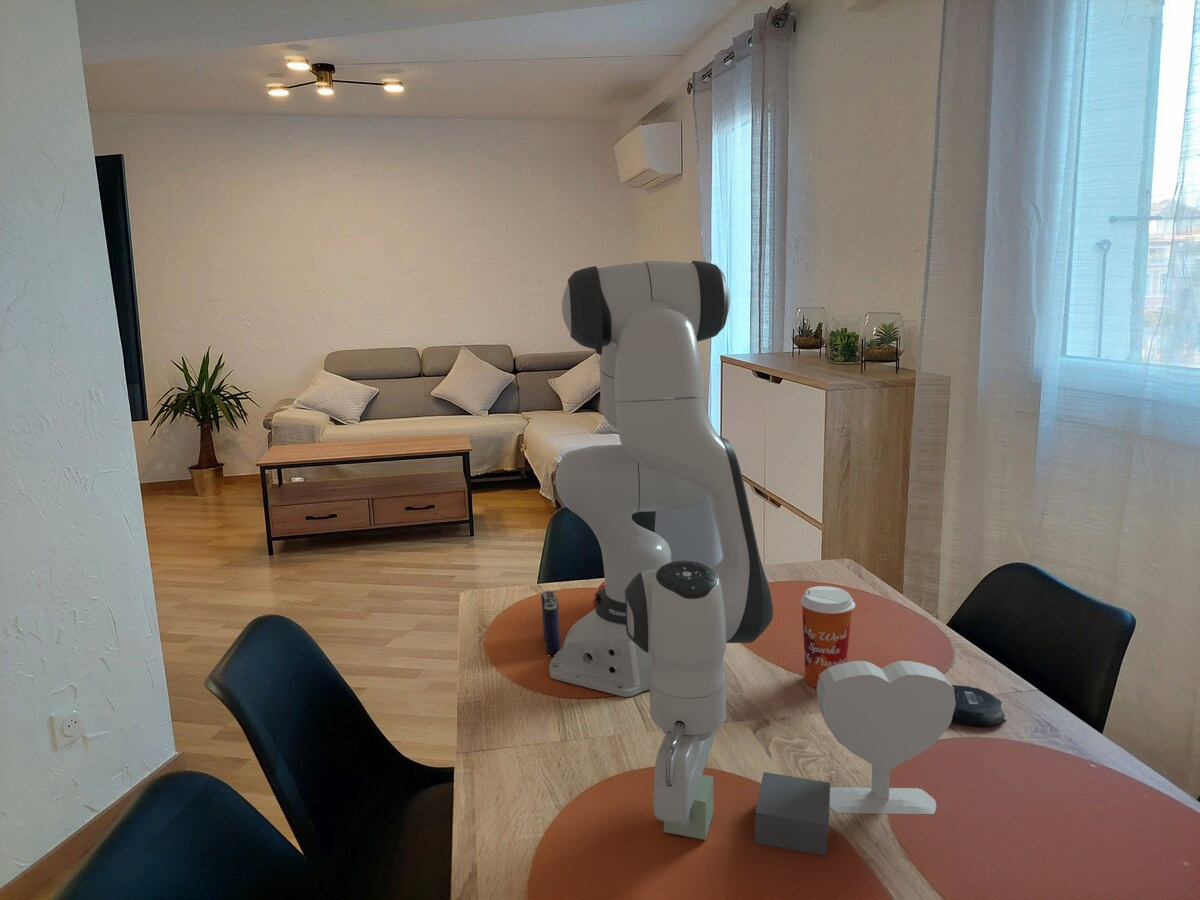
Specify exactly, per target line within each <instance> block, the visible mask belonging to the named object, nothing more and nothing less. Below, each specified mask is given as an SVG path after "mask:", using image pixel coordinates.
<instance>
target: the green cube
mask: <svg viewBox="0 0 1200 900" xmlns="http://www.w3.org/2000/svg"><path fill="white" fill-rule="evenodd" d="M691 808H692V819H691V823H690V826H689V828H681V827H677V826H675V824H674V823H670V822H665V821H663V832H664V833H669V834H673V835H678V836H683V837H689V838H695V839H700V840H703V841H705V840H706V839H707V837H708V836H707V835H708V833H709V829H710V826H711V821H712V818H713V815H714V776H712V775H706V774H703V775H702V777H701V780H700V783H699V786H698V789H697V792H696V795H695V798H694V801H693V804H692V807H691Z"/></svg>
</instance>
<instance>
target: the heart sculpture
mask: <svg viewBox="0 0 1200 900" xmlns="http://www.w3.org/2000/svg"><path fill="white" fill-rule="evenodd" d="M952 685H953V684H951V683H950V681H949V680H948V678H947V677H946V676H945V675H944V673H943V672H941V671H940V670H938V669H937V668H936V667H935V666H931V665H928V664H925V663H921V662H917V661H911V660H896V661H893V662H891V663H889V664H887V665H885V666H883V667H879V666H878V665H876V664H873V663H872V662H869V661H866V660H854V661H853V660H852V661H847V662H846V663H842V664H838V665H835V666H832V667H829V668H827V669H826V670H824V671H823V672H822V673H821V674H819V679H818V684H817V689H816V688H815V689H816V694H817V701H818V708H819V711H820V713H821V716H822V718H823V720H824V724H825V725H826V726H827V728H828V729H829V731H830V733H831V734H832V735H833V737H834V738H835V740H836V741H837V742H838V743H839V744H840V745H842V746H843V747H844V748H845V749H847V750H848V751H850V752H851V753H852V754H853V755H854V756H856V757H859V758H860V759H863V760H864V761H866V762H868V763H869V764H871V766H872V767H871V782H870V783H871V784H870V785H871V787H830V809H832V811H834V812H835V813H836V814H882V815H884V814H888V815H889V814H892V815H894V814H895V815H897V814H898V815H905V814H906V815H934V814H935V812H936V810H937V803H936V799H934V797H933V796H931V794H928V792H927V791H925V790H923V789H922V788H921V789H919V788H920V787H914V788H913V787H890V779H891V770H892V769H893V768H895V767H897V766H899V765H901V764H903V763H905V762H907V761H909V760H911V759H913V758H915V757H917V756H918V755H920V754H921V753H923V752H925V751H926V750H927V749H929V748H931V747H932V746H933V745H934V744H936V743H937V742H938V741H939V740H940V738H942V736H943V734H944V733H945V732H946V731H947V729H948V728H949V726H950V725H951V723H952V722H953V721H952V717H953V713H954V709H955V705H956V702H955V693H954V688H953V687H952Z"/></svg>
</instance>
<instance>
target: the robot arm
mask: <svg viewBox="0 0 1200 900" xmlns="http://www.w3.org/2000/svg"><path fill="white" fill-rule="evenodd" d="M730 295H731V294H730V289H729V287H728V283H727V279H726V276H725V274H724V272H723V271H722V270H721V269H720V267H719V266H718V265H717V264H715V263H711V262H707V261H700V260H691V262H686V261H675V260H673V261H671V260H645V261H643V262H632V263H631V262H630V263H622V264H614V265H607V266H602V267H597V266H596V265H594V266H588V267H584V268H581V269H578V270H575V271H574V272H573V273H572V274H571V276H569V278H568V279H567V283H566V286H565V289H564V291H563V294H562V298H561V299H562V301H561V313H562V317H563V318H562V319H563V321H564V324H565V326H566V328H567V331H568V332H569V335H570V338H571V339H572V340H574V341H575V342H576V343H577V344H579V345H580V346H583V347H584V348H585V347H586V348H588V349H591V350H594V351H595V353H596V355H599V388H600V389H599V391H600V392H599V393H600V396H599V397H600V398H599V399H600V402H599V403H600V412H601V414H602V416H603V417H604V419H605V421H606V422H607V423H608V424H609V425H610V426H611V427H613V428H614V429H615V430H617V433H618V437H619V442H620V444H607V445H605V444H604V445H600V444H599V445H592V446H591V445H590V446H587V447H583V448H578V449H574V450H570V451H568V452H567V453H565V454H564V455H563V456H562V458H561V460H560V462H559V463H558V465H557V468H556V471H555V477H554V478H555V480H554V483H555V489H556V492H557V495H558V497H559V499H560V501H561V503H562V504H564V506H565V507H566V508H567V509H568V510H569V511H571V512H573V513H574V514H576V515H577V517H580V518H581V519H582V520H583V521H584V522H585V523H586V524H587V525H588V526H589V527H590V529H591V530H592V532H593V533H594V535H595V538H596V539H597V541H598V544H599V546H600V550H601V555H602V556H601V557H602V563H603V572H604V581H602V583H601V584H600V585H598V590H597V591H596V592H595V594H594V597H593V598H592V601H591V603H592V604H591V607H592V608H594V610H592V611H590V612H589V613H587V614H585V615H584V616H583V617H581V618H580V619H578V621H575V623H574V624H573V625H572V626H571V627H570V628H569V630H568V632H567V633H566V635H565V637H564V641H563V646H561V649H560V650H559V651H558V652H557V653H556V654H555V656H554V657H552V659H551V661H550V664H549V670H548V674H549V676H550V678H551V679H553V680H557V681H560V682H565V683H568V684H572V685H576V686H580V687H584V688H587V689H592V690H596V691H600V692H604V693H608V694H612V695H616V696H619V697H623V698H624V697H625V698H629V697H634V696H635V695H637V694H640V693H642V692H646V691H649V700H650V701H649V704H650V705H649V706H650V708H649V709H650V718H651V720H652V721H653V723H654V724H655V725H656V726H657V727H659V728H660V729H661V730H662V732H663V734H664V737H663V740H662V742H661V744H660V746H659V748H658V751H657V754H656V757H655V766H654V778H653V779H654V781H653V813H654V816H655V818H656V819H657V820H659V821H660V822H664V821H665V822H670V823H674V824H675V826H677V827H681V828H689V826H690V823H691V819H692V808H691V807H692V804H693V801H694V798H695V795H696V792H697V789H698V786H699V783H700V780H701V777H702V775H704V770H705V767H706V764H707V761H708V759H709V758H708V757H709V755H710V751H711V748H712V745H713V743H714V739H715V736H716V734H717V730H719V728H720V727H722V725H724V723H725V722H726V718H727V671H726V670H725V668H724V661H723V660H724V656H725V653H726V649H727V644H750V643H754V642H755V641H756V640H757V639H759V637H760V636H761V635H762V634H763V633H764V632H765V631H766V630H767V628H768V627H769V626H770V623H771V622H772V620H773V617H774V606H773V597H772V593H771V590H770V586H769V582H768V580H767V577H766V573H765V570H764V567H763V563H762V558H761V556H760V552H759V548H758V547H759V546H758V544H757V543H758V542H757V538H756V533H755V529H754V528H755V527H754V523H753V518H752V515H751V509H750V505H749V501H748V500H749V499H748V495H747V492H746V486H745V483H744V478H743V475H742V470H741V467H740V462H739V459H738V457H737V454H736V452H735V449H734V448H733V445H732V444H731V441H729V440H728V439H727V438H725V437H722V436H720V435H719V434H718V433H717V431H716V430H715V428H714V427H713V424H712V422H711V420H710V418H709V414H708V412H707V407H706V398H705V395H706V394H705V381H704V373H703V372H704V370H703V364H702V358H701V354H700V347H699V342H702V341H706V340H709V339H712V338H714V337H717V336H718V334H719V333H720V332H721V331H722V330H724V328H725V326H726V323H727V319H728V316H729V311H730V306H731V305H730V304H731V296H730ZM708 499H710V501H711V504H712V508H713V513H714V517H715V522H716V526H717V531H718V536H719V540H720V545H721V549H722V554H723V557H722V560H721V562H720V563H718V564H716V565H709V566H706V565H704V564H701V563H698V562H693V561H675V562H671V550H670V547H669V545H668V543H667V542H666V541H665V540H664V539H663V538H662V537H661V536H659V535H658V534H656V533H655V531H652V530H649V529H647V528H646V527H643V526H641V525H639V524H637V523H636V522H635V521H634V520H633V518H632V516H633V515H634V514H636V513H637V514H638V513H644V512H656V511H671V510H681V509H685V508H689V507H693V506H697V505H701V504H704V503H705V502H706V501H707V500H708Z"/></svg>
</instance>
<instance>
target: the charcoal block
mask: <svg viewBox="0 0 1200 900" xmlns="http://www.w3.org/2000/svg"><path fill="white" fill-rule="evenodd" d="M761 777H762V778H761V781H760V782H761V783H760V787H759V788H760V789H759V792H758V797H757V802H756V806H755V807H756V808H755V811H754V814H755V815H754V822H755V823H754V843H755V844H760V845H764V846H771V847H776V848H781V849H787V850H791V851H798V852H802V853H808V854H813V855H817V856H824V857H827V854H828V853H827V852H828V839H829V837H828V836H829V823H830V822H829V821H830V809H831V807H830V788H831V782H830V781H829V782H828V781H823V780H817V779H816V780H815V779H811V778H810V779H809V778H803V777H797V776H792V775H791V776H790V775H785V774H778V773H772V772H766V771H763V774H762V776H761Z"/></svg>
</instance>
